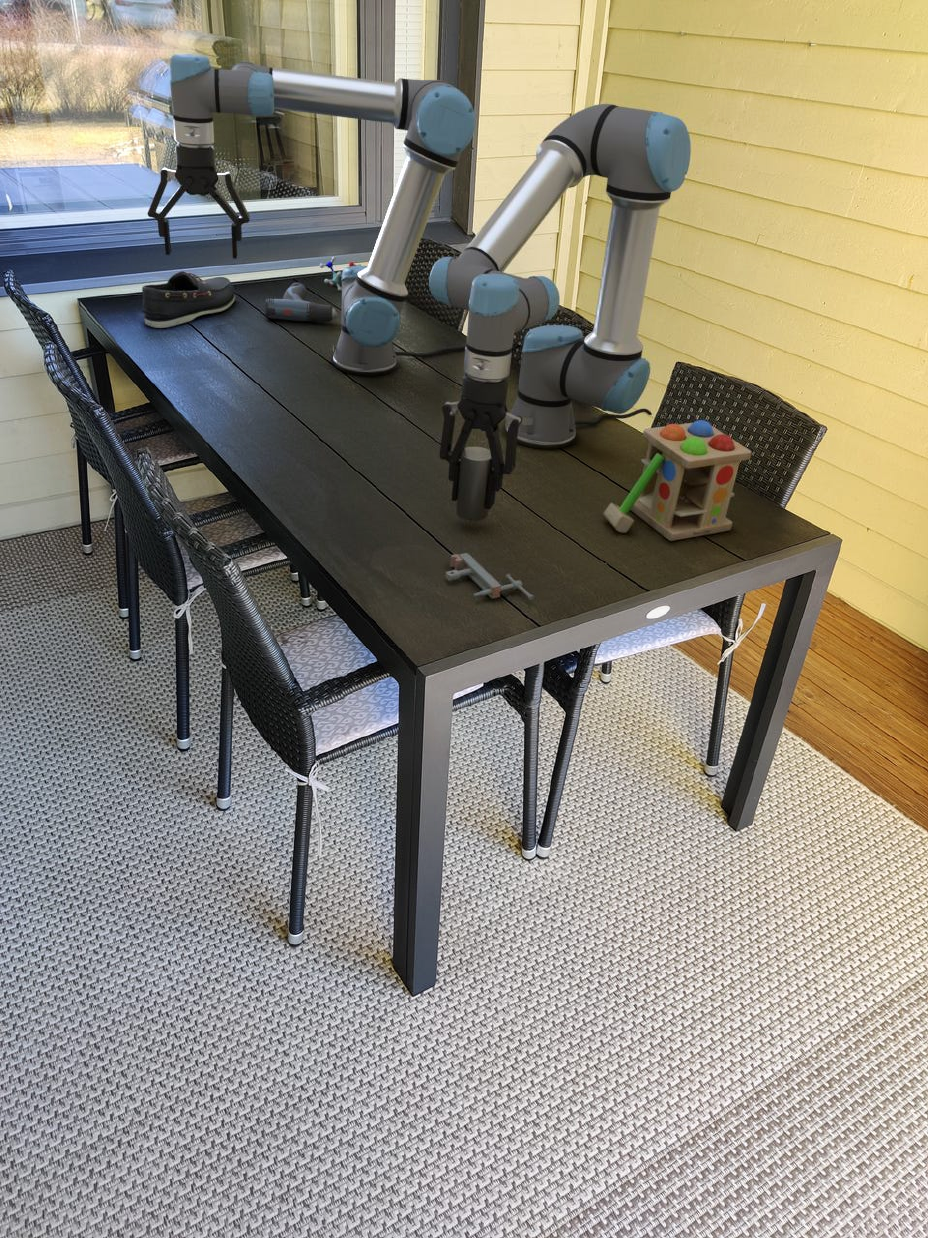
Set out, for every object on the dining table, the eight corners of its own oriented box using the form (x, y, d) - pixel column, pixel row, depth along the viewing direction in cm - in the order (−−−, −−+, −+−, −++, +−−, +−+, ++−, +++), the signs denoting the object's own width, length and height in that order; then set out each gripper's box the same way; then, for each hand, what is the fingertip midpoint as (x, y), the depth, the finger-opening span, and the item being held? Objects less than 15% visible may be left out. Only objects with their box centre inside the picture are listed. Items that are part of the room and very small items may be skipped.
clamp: (435, 558, 161) (487, 546, 165) (434, 569, 162) (486, 557, 167) (482, 605, 150) (536, 591, 155) (480, 617, 152) (534, 603, 156)
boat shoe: (253, 306, 269) (251, 267, 264) (162, 330, 245) (157, 287, 240) (219, 297, 275) (216, 259, 269) (126, 320, 251) (121, 278, 245)
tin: (486, 506, 176) (492, 447, 170) (488, 521, 172) (495, 461, 165) (455, 505, 176) (460, 445, 169) (456, 520, 171) (462, 459, 165)
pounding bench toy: (630, 549, 173) (650, 456, 163) (588, 512, 183) (603, 423, 173) (732, 530, 182) (756, 441, 172) (686, 496, 193) (706, 410, 183)
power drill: (344, 304, 276) (335, 327, 259) (277, 298, 275) (264, 321, 258) (344, 285, 273) (335, 306, 256) (277, 279, 272) (264, 300, 255)
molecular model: (352, 283, 281) (340, 248, 280) (324, 295, 285) (312, 261, 283) (368, 285, 291) (357, 252, 290) (341, 297, 295) (330, 265, 294)
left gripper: (126, 142, 189) (137, 256, 201) (258, 151, 193) (261, 262, 204) (132, 136, 195) (143, 246, 207) (260, 145, 199) (263, 253, 211)
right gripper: (424, 370, 159) (415, 498, 172) (534, 393, 155) (517, 523, 167) (440, 357, 165) (431, 481, 178) (547, 378, 161) (529, 505, 173)
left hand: (201, 255), depth 206 cm, fingers open, 13 cm apart
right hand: (472, 501), depth 173 cm, fingers closed on tin, 6 cm apart
